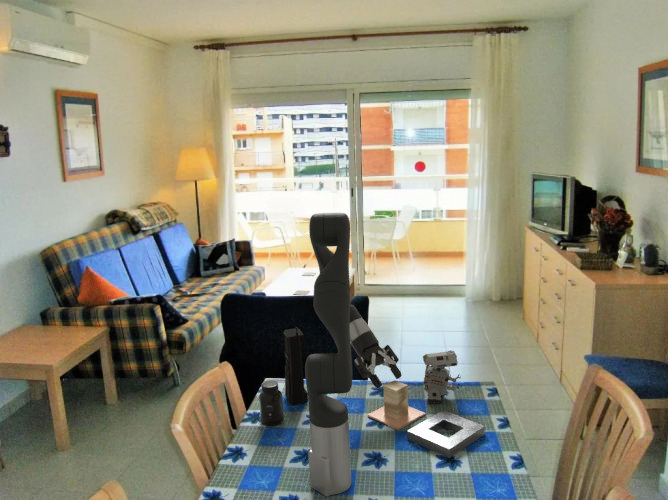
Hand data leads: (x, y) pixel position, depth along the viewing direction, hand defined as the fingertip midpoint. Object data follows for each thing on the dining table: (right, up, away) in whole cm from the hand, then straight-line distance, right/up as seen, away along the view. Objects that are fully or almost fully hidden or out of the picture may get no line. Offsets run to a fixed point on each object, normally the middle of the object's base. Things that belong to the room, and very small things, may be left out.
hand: (389, 382), depth 176 cm
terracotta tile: (+2, -10, 0) cm, 10 cm away
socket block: (+14, -12, -13) cm, 23 cm away
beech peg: (+2, -9, 0) cm, 10 cm away
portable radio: (-29, -9, +14) cm, 33 cm away
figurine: (+17, -7, +10) cm, 21 cm away
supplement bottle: (-35, -12, +1) cm, 37 cm away
